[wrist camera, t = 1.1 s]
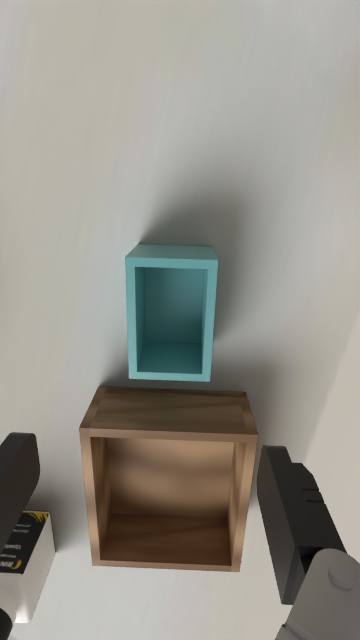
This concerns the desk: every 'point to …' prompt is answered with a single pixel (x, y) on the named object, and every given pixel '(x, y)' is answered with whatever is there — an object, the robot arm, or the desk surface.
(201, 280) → the small teal crate
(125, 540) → the walnut crate
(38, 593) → the medicine bottle
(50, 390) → the desk surface
